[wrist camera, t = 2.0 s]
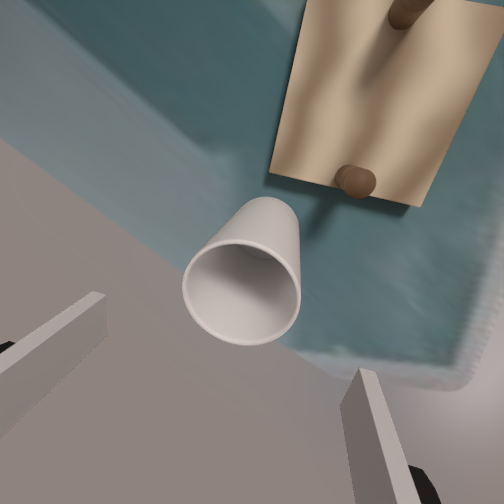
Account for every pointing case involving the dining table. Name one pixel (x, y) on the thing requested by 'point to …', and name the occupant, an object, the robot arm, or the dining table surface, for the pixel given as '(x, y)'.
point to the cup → (248, 275)
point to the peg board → (382, 92)
